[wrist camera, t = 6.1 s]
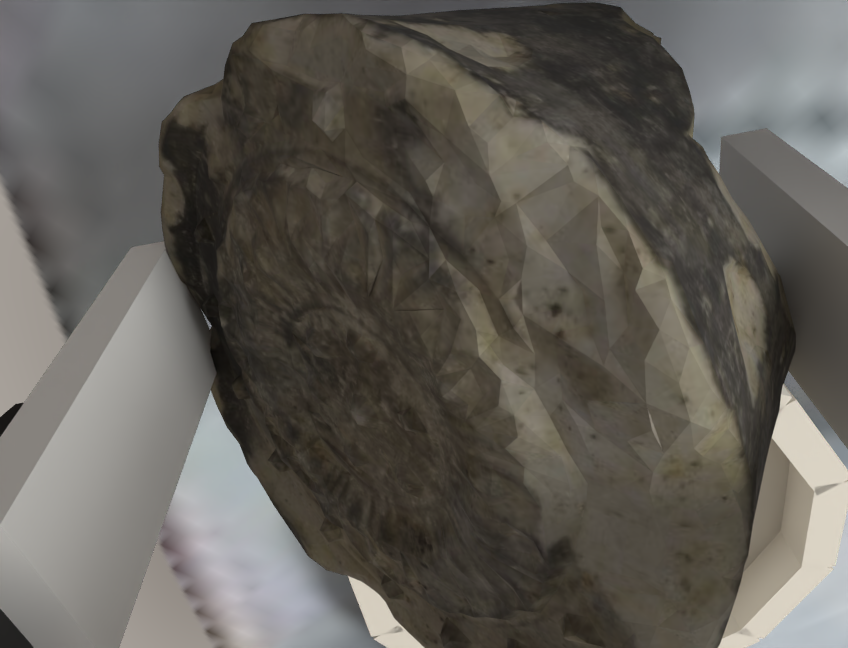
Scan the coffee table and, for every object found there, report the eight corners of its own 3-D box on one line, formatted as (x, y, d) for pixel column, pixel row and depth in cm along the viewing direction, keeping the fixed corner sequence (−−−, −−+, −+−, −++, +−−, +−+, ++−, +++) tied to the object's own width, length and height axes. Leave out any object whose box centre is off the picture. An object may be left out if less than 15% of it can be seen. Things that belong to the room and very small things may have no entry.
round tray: (297, 377, 28) (288, 425, 25) (842, 280, 26) (887, 320, 24) (403, 671, 39) (405, 722, 37) (787, 614, 38) (814, 664, 35)
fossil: (2, 134, 12) (-143, 306, 3) (445, -98, 14) (1076, -370, 5) (314, 544, 17) (569, 1015, 8) (599, 333, 19) (1034, 545, 11)
